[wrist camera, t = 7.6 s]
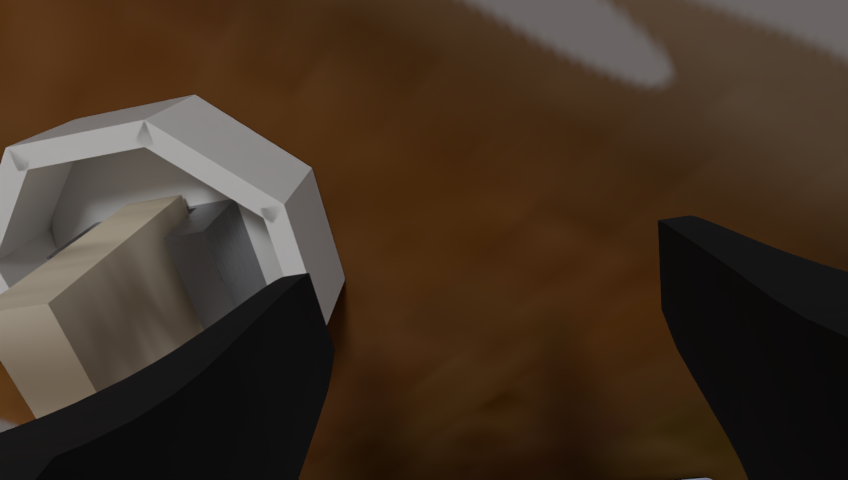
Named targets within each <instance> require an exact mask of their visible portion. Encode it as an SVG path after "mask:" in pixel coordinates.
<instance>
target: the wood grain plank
mask: <svg viewBox="0 0 848 480" xmlns="http://www.w3.org/2000/svg"><path fill="white" fill-rule="evenodd" d="M188 215H189V213H188V210H187V208H186V205H185V203H184V200H183V198H182V195H177V196H171V197H165V198H159V199H154V200H148V201H142V202H136V203H131V204H127V205H125V206H124V207H122V208H121V209H120V210H118V211H117V212H115V213H114V214H113V215H111V216H110V217H108V218H107V219H106V220H104V221H103V222H101V223H100V224H99V225H97V226H96V227H94V228H93V229H92V230H90V231H89V232H87V233H86V234H85V235H83V236H82V237H80V238H79V239H78V240H76V241H75V242H73V243H72V244H71V245H69V246H68V247H66V248H65V249H64V250H62V251H61V252H59V253H58V254H57V255H55V256H54V257H52V258H51V259H50V260H48V261H47V262H45V263H44V264H43V265H41V266H40V267H38V268H37V269H36V270H34V271H33V272H31V273H30V274H29V275H27V276H26V277H24V278H23V279H22V280H20V281H19V282H17V283H16V284H15V285H13V286H12V287H10V288H9V289H8V290H6V291H5V292H3V293H2V294H1V295H0V360H1V362H2V364H3V365H4V367H5V368H6V370H7V372H8V373H9V375H10V377H11V378H12V380H13V381H14V383H15V385H16V386H17V388H18V389H19V391H20V393H21V394H22V396H23V398H24V399H25V401H26V402H27V404H28V406H29V407H30V409H31V410H32V412H33V414H34V415H35V417H36V419H38V418H40V417H43V416H45V415H48V414H50V413H52V412H55V411H57V410H60V409H62V408H64V407H67V406H69V405H71V404H73V403H76V402H78V401H80V400H82V399H84V398H86V397H88V396H90V395H92V394H94V393H96V392H99V391H101V390H103V389H105V388H107V387H109V386H111V385H113V384H115V383H117V382H119V381H121V380H123V379H125V378H127V377H129V376H131V375H133V374H134V373H136V372H138V371H140V370H142V369H143V368H145V367H147V366H149V365H150V364H152V363H154V362H156V361H157V360H159V359H161V358H162V357H164V356H166V355H167V354H169V353H171V352H172V351H174V350H175V349H177V348H179V347H180V346H181V345H183V344H184V343H186V342H187V341H189V340H190V339H192V338H193V337H195V336H196V335H198V334H199V333H201V332H202V331H204V329H203V327H202V325H201V322H200V320H199V318H198V315H197V313H196V311H195V308H194V306H193V304H192V301H191V299H190V297H189V295H188V292H187V290H186V288H185V285H184V283H183V281H182V278H181V276H180V274H179V271H178V269H177V267H176V264H175V262H174V260H173V258H172V255H171V253H170V251H169V248H168V246H167V244H166V241H165V239H164V237H165V236H166V235H168V234H169V233H170V232H171V231H172V230H173V229H174V228H175V227H176V226H177V225H179V224H180V223H181V222H182V221H183V220H184V219H185V218H186V217H187V216H188Z"/></svg>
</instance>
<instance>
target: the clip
mask: <svg viewBox="0 0 848 480" xmlns="http://www.w3.org/2000/svg"><path fill="white" fill-rule="evenodd" d="M186 208H187V210H188V213H189V215H188V216H187V217H186V218H185V219H184V220H183V221H182V222H181V223H180V224H179V225H177V226H176V227H175V228H174V229H173V230H172V231H171V232H170V233H169V234H168V235H166V236H165V237H164V239H165V241H166V244H167V246H168V248H169V251H170V253H171V255H172V258H173V260H174V262H175V264H176V267H177V269H178V271H179V274H180V276H181V278H182V281H183V283H184V285H185V288H186V290H187V292H188V295H189V297H190V299H191V301H192V304H193V306H194V308H195V311H196V313H197V315H198V318H199V320H200V322H201V325H202V327H203V329H204V330H205V329H207V328H208V327H210V326H211V325H213V324H214V323H215V322H217V321H218V320H220V319H221V318H222V317H224V316H225V315H227V314H228V313H229V312H231V311H232V310H233V309H235V308H236V307H238V306H239V305H240V304H242V303H243V302H244V301H246V300H247V299H249V298H250V297H251V296H253V295H254V294H256V293H257V292H258V291H260V290H261V289H263V288H264V287H266V286H267V284H266V281H265V278H264V275H263V273H262V270H261V267H260V264H259V262H258V259H257V256H256V253H255V251H254V248H253V245H252V242H251V240H250V237H249V234H248V231H247V229H246V226H245V223H244V221H243V218H242V215H241V212H240V210H239V207H238V204H237V202H236V201H234V200H233V199H229V200H223V201H217V202H212V203H206V204H200V205H194V206H189V207H186ZM100 223H101V222H97V223H95V224H93V225H92V226H90V227H89V228H88V229H86V230H85V231H83V232H82V233H80V234H79V235H78V236H76V237H75V238H73V239H72V240H71V241H69V242H68V243H66V244H65V245H63V246H62V247H61V248H59V249H58V250H56V251H55V252H54V253H52V254H51V255H49V256H48V257H47V259H48V260H50V259H51V258H52V257H54V256H55V255H57V254H58V253H59V252H61V251H62V250H64V249H65V248H66V247H68V246H69V245H71V244H72V243H73V242H75V241H76V240H78V239H79V238H80V237H82V236H83V235H85V234H86V233H87V232H89V231H90V230H92V229H93V228H94V227H96V226H97V225H99V224H100Z"/></svg>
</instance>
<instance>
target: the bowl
mask: <svg viewBox="0 0 848 480" xmlns="http://www.w3.org/2000/svg"><path fill="white" fill-rule="evenodd" d="M177 195H182V198H183V200H184V203H185V205H186V207H189V206H194V205H200V204H206V203H212V202H217V201H223V200H229V199H233V200H234V201H236V202H237V204H238V207H239V210H240V212H241V215H242V218H243V221H244V223H245V226H246V229H247V231H248V234H249V237H250V240H251V242H252V245H253V248H254V251H255V253H256V256H257V259H258V262H259V264H260V267H261V270H262V273H263V275H264V278H265V281H266V284H267V285H269V284H270V283H272V282H274V281H275V280H277V279H279V278H281V277H284V276H291V275H298V274H304V273H309V274H310V277H311V280H312V283H313V286H314V289H315V292H316V295H317V298H318V301H319V304H320V307H321V310H322V313H323V317H324V320H325V323H326V326H327V324H328V321H329V319H330V316H331V314H332V311H333V309H334V306H335V304H336V301H337V298H338V296H339V293H340V291H341V288H342V286H343V283H344V281H345V277H344V273H343V270H342V267H341V263H340V260H339V257H338V253H337V250H336V247H335V243H334V240H333V237H332V233H331V230H330V227H329V223H328V220H327V217H326V213H325V210H324V207H323V203H322V200H321V197H320V193H319V190H318V187H317V183H316V180H315V176H314V173H313V170H312V168H311V167H310V166H308V165H307V164H305V163H303V162H302V161H300V160H299V159H297V158H295V157H294V156H292V155H291V154H289V153H287V152H286V151H284V150H283V149H281V148H279V147H278V146H276V145H275V144H273V143H271V142H270V141H268V140H267V139H265V138H263V137H262V136H260V135H259V134H257V133H255V132H254V131H252V130H251V129H249V128H248V127H246V126H244V125H243V124H241V123H240V122H238V121H236V120H235V119H233V118H232V117H230V116H228V115H227V114H225V113H224V112H222V111H220V110H219V109H217V108H216V107H214V106H212V105H211V104H209V103H208V102H206V101H204V100H203V99H201V98H200V97H198V96H196V95H190V96H186V97H181V98H176V99H171V100H166V101H161V102H156V103H152V104H147V105H142V106H137V107H132V108H127V109H123V110H118V111H113V112H108V113H103V114H98V115H93V116H89V117H84V118H79V119H75V120H72V121H70V122H68V123H65V124H63V125H60V126H58V127H55V128H53V129H50V130H48V131H45V132H43V133H41V134H38V135H36V136H33V137H31V138H28V139H26V140H23V141H21V142H19V143H16V144H14V145H11V146H9V147H6V149H5V152H4V155H3V158H2V161H1V164H0V295H1V294H2V293H3V292H5V291H6V290H8V289H9V288H10V287H12V286H13V285H15V284H16V283H17V282H19V281H20V280H22V279H23V278H24V277H26V276H27V275H29V274H30V273H31V272H33V271H34V270H36V269H37V268H38V267H40V266H41V265H43V264H44V263H45V262H47V261H48V259H47V257H48V256H49V255H51V254H52V253H54V252H55V251H56V250H58V249H59V248H61V247H62V246H63V245H65V244H66V243H68V242H69V241H71V240H72V239H73V238H75V237H76V236H78V235H79V234H80V233H82V232H83V231H85V230H86V229H88V228H89V227H90V226H92V225H93V224H95V223H97V222H103V221H104V220H106V219H107V218H108V217H110V216H111V215H113V214H114V213H115V212H117V211H118V210H120V209H121V208H122V207H124V206H125V205H127V204H131V203H136V202H142V201H148V200H154V199H159V198H165V197H171V196H177Z"/></svg>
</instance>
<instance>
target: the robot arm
mask: <svg viewBox="0 0 848 480" xmlns="http://www.w3.org/2000/svg"><path fill="white" fill-rule="evenodd" d="M658 232H659V257H660V281H661V305H662V311H663V314H664V316H665V319H666V322H667V324H668V327H669V330H670V332H671V335H672V337H673V340H674V342H675V344H676V347H677V349H678V351H679V353H680V355H681V357H682V358H683V360H684V362H685V364H686V365H687V367H688V369H689V371H690V372H691V374H692V376H693V378H694V379H695V381H696V383H697V385H698V386H699V388H700V390H701V392H702V393H703V395H704V397H705V398H706V400H707V402H708V404H709V405H710V407H711V409H712V410H713V412H714V414H715V416H716V417H717V419H718V421H719V423H720V424H721V426H722V428H723V429H724V431H725V433H726V435H727V436H728V438H729V440H730V442H731V444H732V446H733V448H734V449H735V451H736V453H737V455H738V457H739V459H740V461H741V463H742V466H743V468H744V470H745V472H746V475H747V477H748V479H749V480H848V272H846V271H842V270H839V269H836V268H832V267H829V266H826V265H822V264H819V263H816V262H813V261H811V260H808V259H805V258H802V257H799V256H796V255H793V254H790V253H787V252H785V251H782V250H779V249H776V248H774V247H771V246H769V245H766V244H763V243H761V242H758V241H756V240H753V239H751V238H749V237H746V236H744V235H741V234H739V233H736V232H734V231H732V230H729V229H727V228H724V227H722V226H719V225H717V224H714V223H712V222H709V221H707V220H704V219H701V218H698V217H695V216H684V217H677V218H671V219H664V220H658ZM334 351H335V350H334V347H333V344H332V341H331V338H330V335H329V332H328V329H327V326H326V323H325V320H324V317H323V313H322V310H321V307H320V304H319V301H318V298H317V295H316V292H315V289H314V286H313V283H312V280H311V277H310V274H309V273H304V274H298V275H291V276H284V277H281V278H279V279H277V280H275V281H274V282H272V283H270V284H269V285H267V286H266V287H264V288H263V289H261V290H260V291H258V292H257V293H256V294H254V295H253V296H251V297H250V298H249V299H247V300H246V301H244V302H243V303H242V304H240V305H239V306H238V307H236V308H235V309H233V310H232V311H231V312H229V313H228V314H227V315H225V316H224V317H222V318H221V319H220V320H218V321H217V322H215V323H214V324H213V325H211V326H210V327H208V328H207V329H205V330H204V331H202V332H201V333H199V334H198V335H196V336H195V337H193V338H192V339H190V340H189V341H187V342H186V343H184V344H183V345H181V346H180V347H179V348H177V349H175V350H174V351H172V352H171V353H169V354H167V355H166V356H164V357H162V358H161V359H159V360H157V361H156V362H154V363H152V364H150V365H149V366H147V367H145V368H143V369H142V370H140V371H138V372H136V373H134V374H133V375H131V376H129V377H127V378H125V379H123V380H121V381H119V382H117V383H115V384H113V385H111V386H109V387H107V388H105V389H103V390H101V391H99V392H96V393H94V394H92V395H90V396H88V397H86V398H84V399H82V400H80V401H78V402H76V403H73V404H71V405H69V406H67V407H64V408H62V409H60V410H57V411H55V412H52V413H50V414H48V415H45V416H43V417H40V418H38V419H35V420H33V421H30V422H27V423H25V424H22V425H20V426H17V427H15V428H12V429H9V430H6V431H4V432H1V433H0V480H298V478H299V475H300V472H301V469H302V467H303V464H304V461H305V458H306V455H307V452H308V449H309V446H310V443H311V440H312V437H313V434H314V431H315V428H316V425H317V422H318V419H319V416H320V413H321V410H322V407H323V404H324V401H325V398H326V395H327V391H328V387H329V382H330V377H331V371H332V365H333V358H334ZM683 480H712V479H709V478H695V479H683Z"/></svg>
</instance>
